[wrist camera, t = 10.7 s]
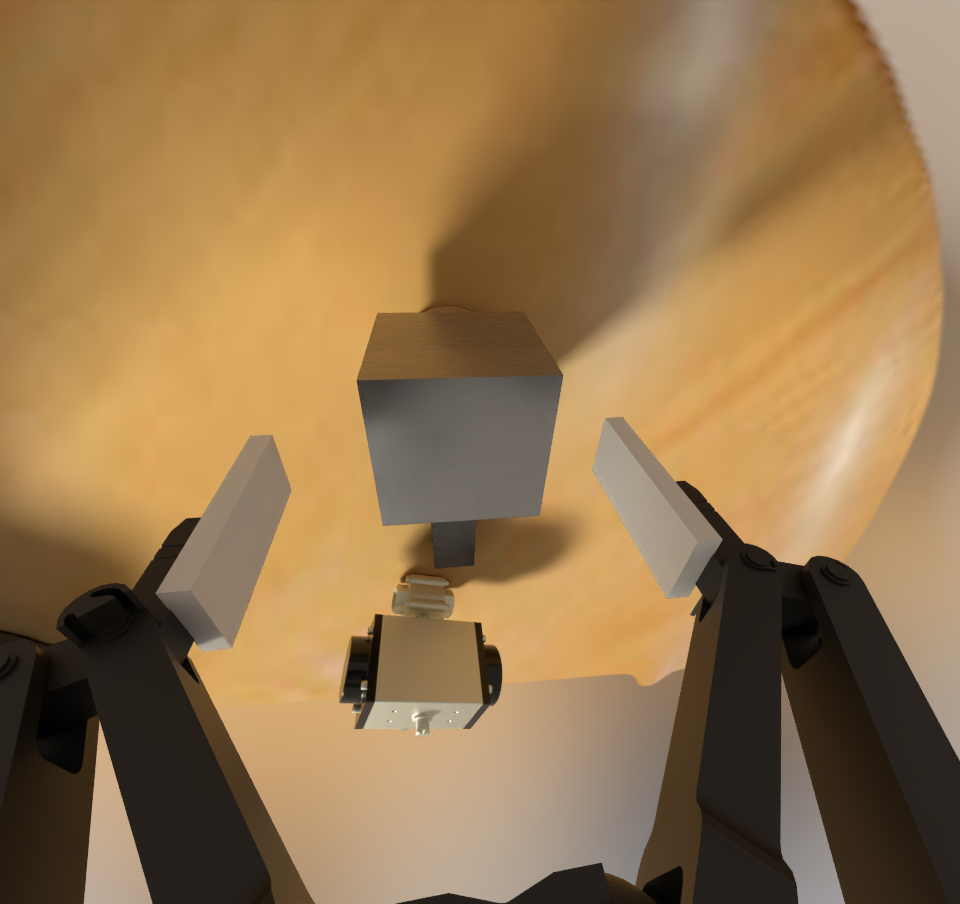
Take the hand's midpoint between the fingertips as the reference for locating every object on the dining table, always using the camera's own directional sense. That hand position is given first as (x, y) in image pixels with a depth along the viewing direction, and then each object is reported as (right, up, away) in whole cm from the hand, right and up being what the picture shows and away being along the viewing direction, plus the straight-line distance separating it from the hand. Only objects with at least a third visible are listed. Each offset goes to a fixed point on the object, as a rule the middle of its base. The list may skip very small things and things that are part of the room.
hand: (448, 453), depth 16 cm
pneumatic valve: (-4, -13, +21) cm, 25 cm away
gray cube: (0, +4, +5) cm, 6 cm away
